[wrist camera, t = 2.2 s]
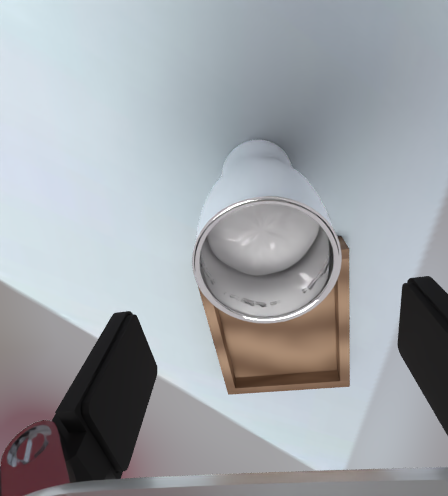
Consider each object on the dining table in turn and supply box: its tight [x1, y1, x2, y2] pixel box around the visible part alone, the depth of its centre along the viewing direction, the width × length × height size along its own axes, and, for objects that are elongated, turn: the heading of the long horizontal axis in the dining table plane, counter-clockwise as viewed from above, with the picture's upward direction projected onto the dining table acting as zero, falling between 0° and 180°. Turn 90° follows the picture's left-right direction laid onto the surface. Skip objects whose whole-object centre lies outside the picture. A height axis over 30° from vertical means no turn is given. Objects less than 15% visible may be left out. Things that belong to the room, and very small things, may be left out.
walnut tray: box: [198, 236, 350, 395], centre depth 33 cm, size 18×14×2 cm
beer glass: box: [192, 140, 342, 323], centre depth 20 cm, size 7×7×15 cm
